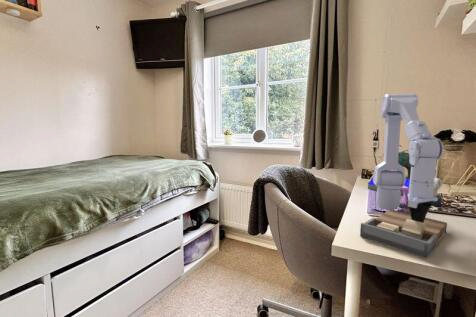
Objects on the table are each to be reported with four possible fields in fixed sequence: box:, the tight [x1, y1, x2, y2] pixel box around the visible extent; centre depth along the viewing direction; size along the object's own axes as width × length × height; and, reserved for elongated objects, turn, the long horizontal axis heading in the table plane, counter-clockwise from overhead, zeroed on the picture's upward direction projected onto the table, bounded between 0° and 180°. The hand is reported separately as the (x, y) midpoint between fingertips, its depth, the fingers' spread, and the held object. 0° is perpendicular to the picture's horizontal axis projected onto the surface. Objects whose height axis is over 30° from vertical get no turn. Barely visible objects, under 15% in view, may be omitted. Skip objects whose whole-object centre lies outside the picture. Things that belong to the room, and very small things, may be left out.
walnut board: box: [375, 210, 448, 245], centre depth 81 cm, size 14×16×3 cm
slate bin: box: [359, 217, 438, 259], centre depth 73 cm, size 9×17×4 cm, turn 41°
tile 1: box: [377, 222, 399, 233], centre depth 76 cm, size 4×4×2 cm
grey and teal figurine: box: [428, 177, 443, 207], centre depth 106 cm, size 6×8×11 cm
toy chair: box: [388, 170, 409, 206], centre depth 107 cm, size 8×9×15 cm
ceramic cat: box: [382, 144, 411, 178], centre depth 155 cm, size 20×6×20 cm, turn 88°
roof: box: [367, 175, 410, 196], centre depth 126 cm, size 22×14×7 cm, turn 42°
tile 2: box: [402, 219, 425, 239], centre depth 73 cm, size 4×4×2 cm
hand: (417, 225), depth 75 cm, fingers closed
